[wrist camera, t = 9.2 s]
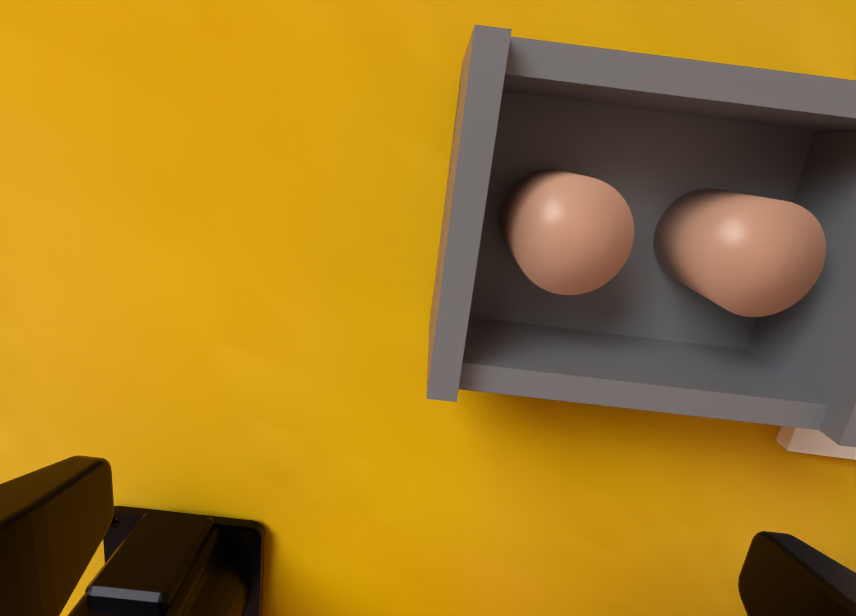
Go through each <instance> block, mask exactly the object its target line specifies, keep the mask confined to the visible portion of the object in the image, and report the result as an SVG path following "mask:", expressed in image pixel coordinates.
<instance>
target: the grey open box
mask: <svg viewBox="0 0 856 616" xmlns="http://www.w3.org/2000/svg"><path fill="white" fill-rule="evenodd" d="M511 30H512V29H505V28H497V27H489V26H481V25H475V26H474V29H473V32H472V35H471V38H470V41H469V44H468V47H467V50H466V53H465V56H464V59H463V63H462V71H461V79H460V87H459V95H458V103H457V111H456V119H455V127H454V135H453V143H452V151H451V159H450V167H449V175H448V183H447V191H446V199H445V207H444V215H443V223H442V231H441V239H440V247H439V255H438V263H437V271H436V279H435V287H434V294H433V302H432V310H431V318H430V326H429V351H428V375H427V399H435V400H444V401H452V402H457V395H458V389H462V390H471V391H480V392H489V393H497V394H506V395H515V396H524V397H532V398H541V399H550V400H559V401H567V402H576V403H585V404H594V405H602V406H611V407H620V408H629V409H637V410H646V411H655V412H664V413H672V414H681V415H690V416H699V417H707V418H716V419H725V420H734V421H742V422H751V423H760V424H769V425H777V426H786V427H795V428H804V429H812V430H819V431H821V432H822V433H823V434H824V435H826V436H827V437H828V438H830V439H831V440H832V441H834V442H835V443H836V444H838V445H839V446H848V447H856V81H855V80H847V79H839V78H831V77H823V76H816V75H808V74H800V73H792V72H784V71H776V70H769V69H761V68H753V67H745V66H737V65H729V64H721V63H714V62H706V61H698V60H690V59H682V58H674V57H667V56H659V55H651V54H643V53H635V52H627V51H619V50H612V49H604V48H596V47H588V46H580V45H572V44H565V43H557V42H549V41H541V40H533V39H525V38H517V37H510V36H511Z"/></svg>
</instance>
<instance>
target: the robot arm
mask: <svg viewBox="0 0 856 616" xmlns="http://www.w3.org/2000/svg"><path fill="white" fill-rule="evenodd" d="M115 518H117V519H118V520H120V521H117V520H116V519H115ZM247 532H251V533H253V534H254V536H252V535H249V534H248V533H247ZM264 536H265V531H264V527H263V526H262V525H261V524H260V523H258V522H256V521H252V520H243V519H234V518H225V517H216V516H206V515H197V514H188V513H179V512H170V511H160V510H151V509H142V508H133V507H124V506H114V501H113V486H112V471H111V466H110V463H109V462H108V461H107V460H106V459H104V458H97V457H88V456H73V457H70V458H68V459H65V460H62V461H60V462H57V463H55V464H52V465H49V466H47V467H44V468H41V469H39V470H36V471H34V472H31V473H28V474H26V475H23V476H21V477H18V478H15V479H13V480H10V481H7V482H5V483H2V484H0V616H59V615H60V614H61V612H62V610H63V608H64V606H65V605H66V603H67V601H68V599H69V598H70V596H71V594H72V592H73V591H74V589H75V587H76V585H77V584H78V582H79V580H80V578H81V576H82V575H83V573H84V571H85V569H86V568H87V566H88V564H89V562H90V561H91V559H92V557H93V555H94V554H95V552H96V550H97V548H98V546H99V545H100V543H101V541H102V539H103V541H104V555H105V565H104V566H103V567H102V568H101V570H100V571H99V572H98V574H97V575H96V576H95V577H94V579H93V580H92V581H91V582H90V584H89V585H88V586H87V588H86V590H85V594H84V595H83V596H82V598H81V599H80V600H79V602H78V603H77V604H76V605H75V607H74V608H73V609H72V611H71V612H70V613H69V614H68V616H262V597H263V567H264ZM738 587H739V593H740V597H741V600H742V602H743V605H744V607H745V610H746V613H747V615H748V616H856V573H855V572H853V571H852V570H850V569H848V568H847V567H845V566H843V565H841V564H840V563H838V562H836V561H835V560H833V559H831V558H830V557H828V556H826V555H825V554H823V553H821V552H820V551H818V550H816V549H814V548H813V547H811V546H809V545H808V544H806V543H804V542H803V541H801V540H799V539H798V538H796V537H794V536H792V535H789V534H784V533H775V532H766V531H762V532H759V533H757V534H756V535H755V536H754V537H753V539H752V542H751V545H750V547H749V550H748V553H747V556H746V559H745V561H744V564H743V567H742V570H741V572H740V575H739V582H738Z"/></svg>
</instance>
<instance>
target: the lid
mask: <svg viewBox="0 0 856 616" xmlns="http://www.w3.org/2000/svg"><path fill="white" fill-rule="evenodd" d="M776 442H777V443H778V444H780V445H781V446H782V447H783V448H784V449H785V450H786V451H791V452H799V453H807V454H814V455H822V456H830V457H838V458H846V459H853V460H856V447H848V446H839V445H838V444H836V443H835V442H834V441H832V440H831V439H830V438H828V437H827V436H826V435H824V434H823V433H822V432H821V431H819V430H812V429H804V428H795V427H786V426H781V428H780V431H779V434H778V436H777V439H776Z"/></svg>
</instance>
